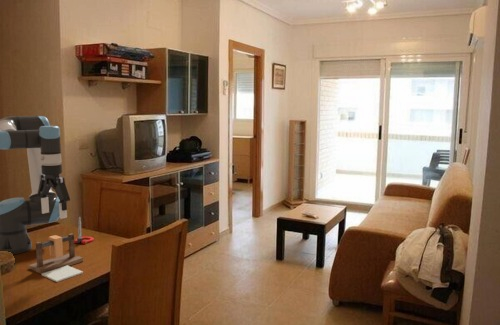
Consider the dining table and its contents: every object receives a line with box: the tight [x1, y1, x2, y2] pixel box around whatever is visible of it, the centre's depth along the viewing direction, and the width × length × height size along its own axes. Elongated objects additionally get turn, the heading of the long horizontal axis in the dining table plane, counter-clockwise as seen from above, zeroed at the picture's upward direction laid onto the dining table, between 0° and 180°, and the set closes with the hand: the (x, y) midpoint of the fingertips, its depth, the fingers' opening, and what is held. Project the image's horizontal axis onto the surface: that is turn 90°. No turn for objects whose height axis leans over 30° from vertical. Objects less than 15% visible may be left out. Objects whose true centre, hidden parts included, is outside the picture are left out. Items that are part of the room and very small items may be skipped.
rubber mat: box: [41, 265, 84, 283], centre depth 170 cm, size 11×11×1 cm
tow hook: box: [74, 216, 95, 245], centre depth 210 cm, size 8×13×9 cm
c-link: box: [48, 234, 64, 258], centre depth 179 cm, size 5×3×8 cm, turn 54°
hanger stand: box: [28, 232, 84, 275], centre depth 179 cm, size 10×18×12 cm, turn 144°
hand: (54, 215), depth 177 cm, fingers open, 13 cm apart
